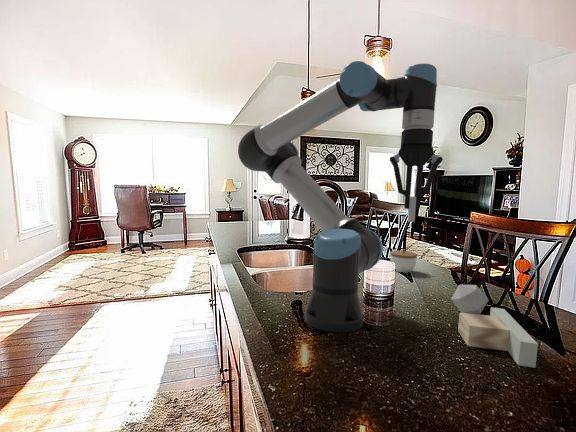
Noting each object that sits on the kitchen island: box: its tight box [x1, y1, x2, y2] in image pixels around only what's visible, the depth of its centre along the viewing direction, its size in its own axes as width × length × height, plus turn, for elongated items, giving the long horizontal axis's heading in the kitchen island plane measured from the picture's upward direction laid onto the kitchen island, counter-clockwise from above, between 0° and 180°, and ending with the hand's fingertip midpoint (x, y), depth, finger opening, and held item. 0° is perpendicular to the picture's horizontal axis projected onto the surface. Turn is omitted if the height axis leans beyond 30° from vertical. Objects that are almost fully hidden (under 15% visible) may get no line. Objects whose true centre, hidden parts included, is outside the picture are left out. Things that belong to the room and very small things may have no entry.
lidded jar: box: [389, 248, 418, 274], centre depth 141 cm, size 11×11×9 cm
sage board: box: [489, 307, 539, 368], centre depth 76 cm, size 3×20×5 cm, turn 163°
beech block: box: [457, 312, 509, 352], centre depth 78 cm, size 8×8×5 cm
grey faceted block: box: [450, 284, 490, 315], centre depth 96 cm, size 8×9×10 cm
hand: (411, 221), depth 87 cm, fingers closed
